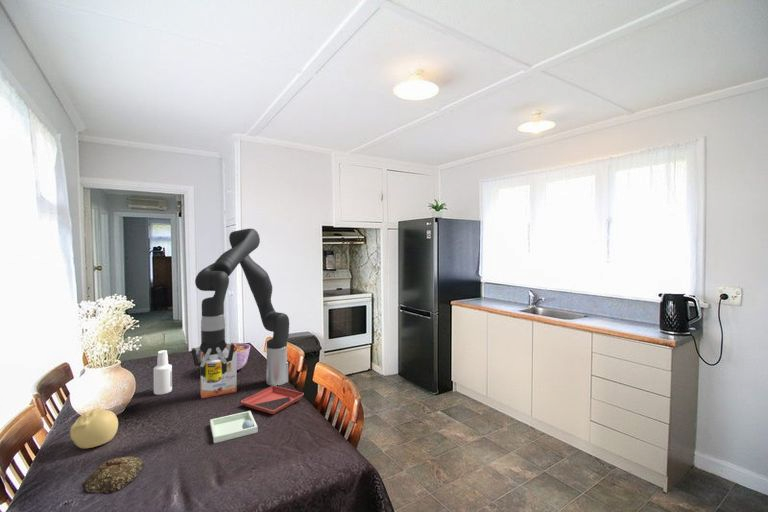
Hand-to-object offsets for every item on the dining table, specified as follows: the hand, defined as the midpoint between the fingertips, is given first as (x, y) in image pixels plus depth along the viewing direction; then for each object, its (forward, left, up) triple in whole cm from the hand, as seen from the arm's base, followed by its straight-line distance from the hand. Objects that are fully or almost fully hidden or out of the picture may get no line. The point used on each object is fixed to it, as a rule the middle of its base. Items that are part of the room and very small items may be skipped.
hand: (213, 374), depth 124 cm
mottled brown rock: (+27, +15, -20) cm, 36 cm away
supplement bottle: (0, 0, -3) cm, 3 cm away
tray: (-6, +5, -19) cm, 21 cm away
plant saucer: (-23, -9, -20) cm, 31 cm away
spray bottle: (+16, -45, -19) cm, 52 cm away
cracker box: (-5, -31, -19) cm, 37 cm away
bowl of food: (-13, -59, -19) cm, 64 cm away
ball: (-10, +9, -19) cm, 23 cm away
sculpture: (+34, -9, -19) cm, 40 cm away
